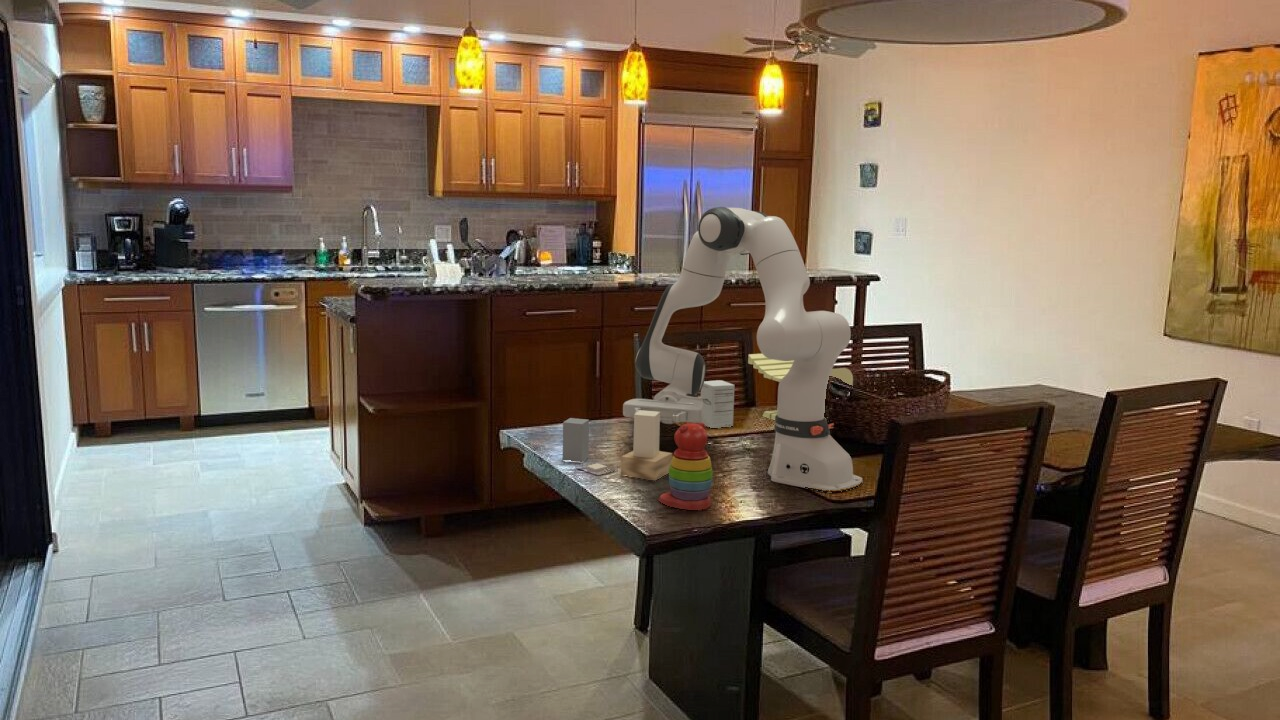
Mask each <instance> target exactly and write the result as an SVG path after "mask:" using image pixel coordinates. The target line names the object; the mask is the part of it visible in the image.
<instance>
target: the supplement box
mask: <svg viewBox="0 0 1280 720" xmlns="http://www.w3.org/2000/svg"><path fill="white" fill-rule="evenodd" d="M700 396H701V397H702V398H703V421H702V422H701V423H704V424H705V426H706V427H707V428H709V427H710V429H711V428H718V429H722V428H721V427H729V428H732V427H731V426H733V427H734V408H735V384H733V383H730V382H728V381H725V380H723V379H722V380H721V379H719V380H718V379H716V380H708V381H707V380H706V381H705V380H704V384H703V386H702V389H701V390H700Z"/></svg>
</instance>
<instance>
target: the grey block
mask: <svg viewBox="0 0 1280 720" xmlns="http://www.w3.org/2000/svg"><path fill="white" fill-rule="evenodd" d="M589 422H590V419H585V418H575V417H570V418H568V419H566V420H564V421H563V422H562V461H563V460H571V461H580V462H582V461H584V460H585V459H586V458H588V457H589V452H590V451H589V449H590V448H589V447H590V446H589V444H590V443H589V442H590V439H589V438H590V436H589V435H590V433H589V432H590V423H589Z"/></svg>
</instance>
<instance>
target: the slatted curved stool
mask: <svg viewBox="0 0 1280 720" xmlns="http://www.w3.org/2000/svg"><path fill="white" fill-rule="evenodd" d="M793 361H794V360H793ZM793 361H780V360H774V359H769V358H767V357H765V356H764V355H763V354H762V353H751V354H750V353H749V354H748V358H747V364H749V365H753V366H752V367H753V369H756V370H758V372H757V373H759V374H761V375H762V374H763V378H764V379H768V380H772V381H776V382H778V383H780V381H781V380H782V378H783V377H784V376H785V375H786V374H787V373H788V372H789V370H790V368H791V367H792V364H793ZM830 376H833V377H836V378H839V379H841V380H842V381H843V382H845V383H847V384H849V385H852V386H853V385H854V377H853V373H852V371H851V370H850V369H849V368H847V367H840V368H832V371H831V374H830ZM776 415H777V409H773V410H767V411H763V414H762V416H764V417H767V418H771V419H773V420H775V416H776ZM764 417H763V418H764ZM771 419H770V420H771Z"/></svg>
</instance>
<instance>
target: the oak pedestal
mask: <svg viewBox="0 0 1280 720" xmlns="http://www.w3.org/2000/svg"><path fill="white" fill-rule="evenodd" d="M672 457H673V452H668V451H661V450H659V453H658V454H657V455H656V457H655V458H646V457H636V456H633V450H631V451H630V452H626V454H624V455H621V456H620V475H621V474H622V475H627V476H632V477H638V478H643V479H649V480H657V479H659V478H661V477H662V476H664V475H666V474H668V473H669V467H670V465H671V460H672ZM668 475H669V474H668ZM666 476H667V475H666ZM664 477H665V476H664ZM662 478H663V477H662ZM662 478H661V479H662ZM643 479H642V480H643ZM659 480H660V479H659ZM657 481H658V480H657Z"/></svg>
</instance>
